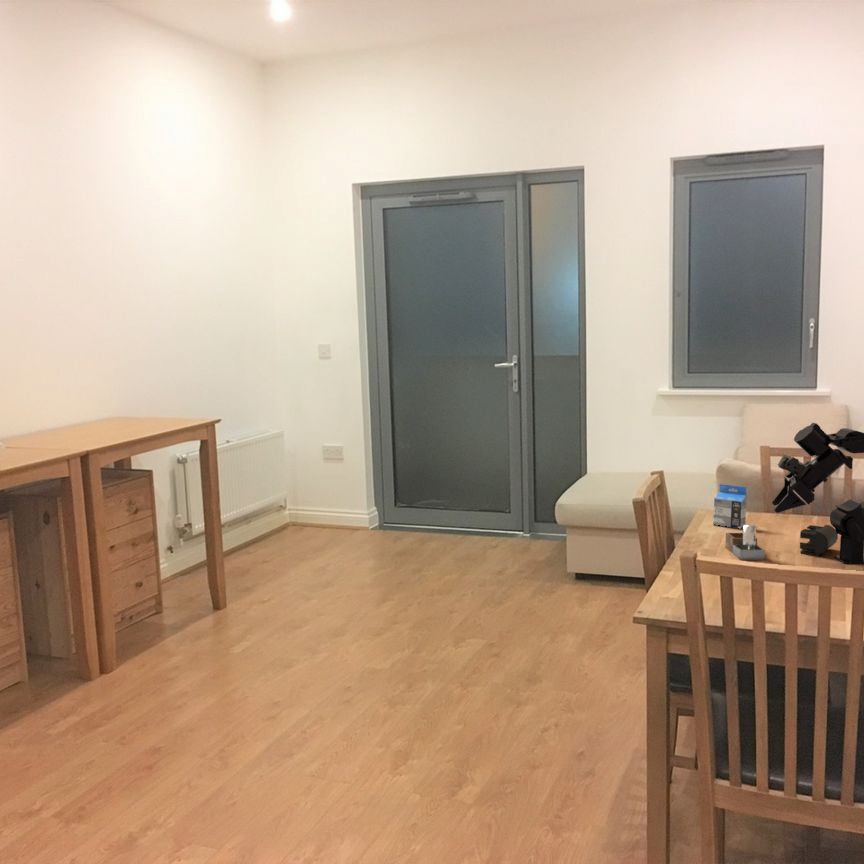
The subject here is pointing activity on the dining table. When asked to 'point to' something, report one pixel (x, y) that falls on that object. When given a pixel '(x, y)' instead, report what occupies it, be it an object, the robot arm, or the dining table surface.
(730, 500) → the label tape box
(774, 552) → the dining table surface
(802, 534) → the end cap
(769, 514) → the dining table surface
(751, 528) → the axle pin
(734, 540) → the bore block
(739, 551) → the tray
